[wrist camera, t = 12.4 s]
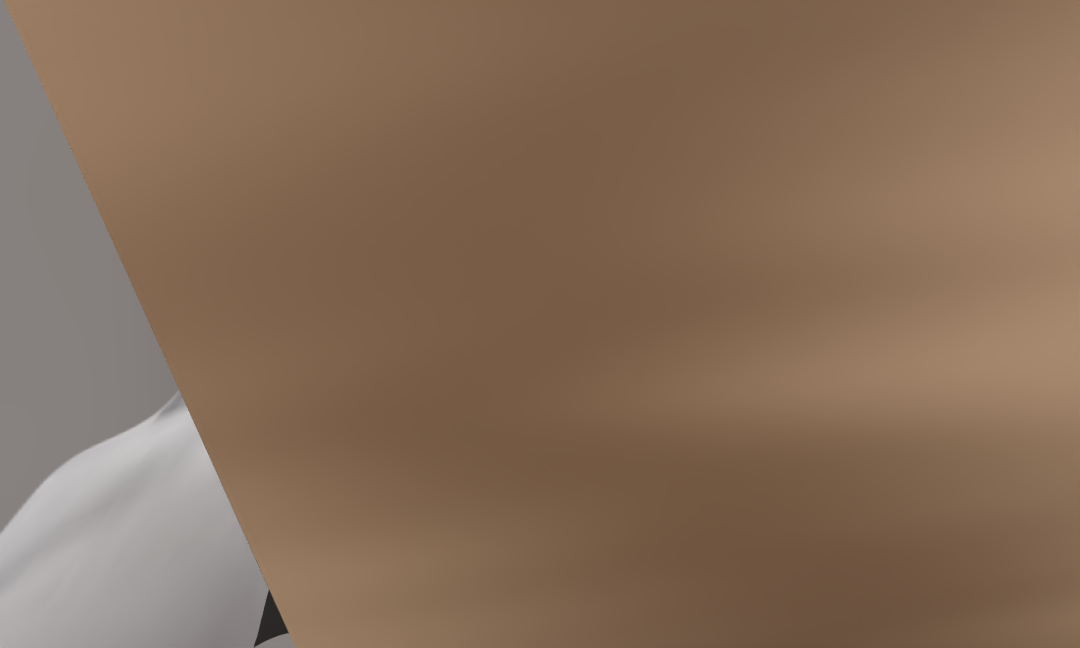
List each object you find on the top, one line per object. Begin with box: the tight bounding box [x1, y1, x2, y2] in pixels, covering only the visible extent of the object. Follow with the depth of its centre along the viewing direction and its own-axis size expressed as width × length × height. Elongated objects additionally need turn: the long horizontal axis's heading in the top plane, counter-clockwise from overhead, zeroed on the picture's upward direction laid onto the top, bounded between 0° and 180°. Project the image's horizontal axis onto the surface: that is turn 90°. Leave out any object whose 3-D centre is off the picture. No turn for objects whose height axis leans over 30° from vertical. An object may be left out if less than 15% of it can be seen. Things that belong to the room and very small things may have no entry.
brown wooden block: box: [4, 0, 1080, 648], centre depth 8 cm, size 6×6×14 cm
